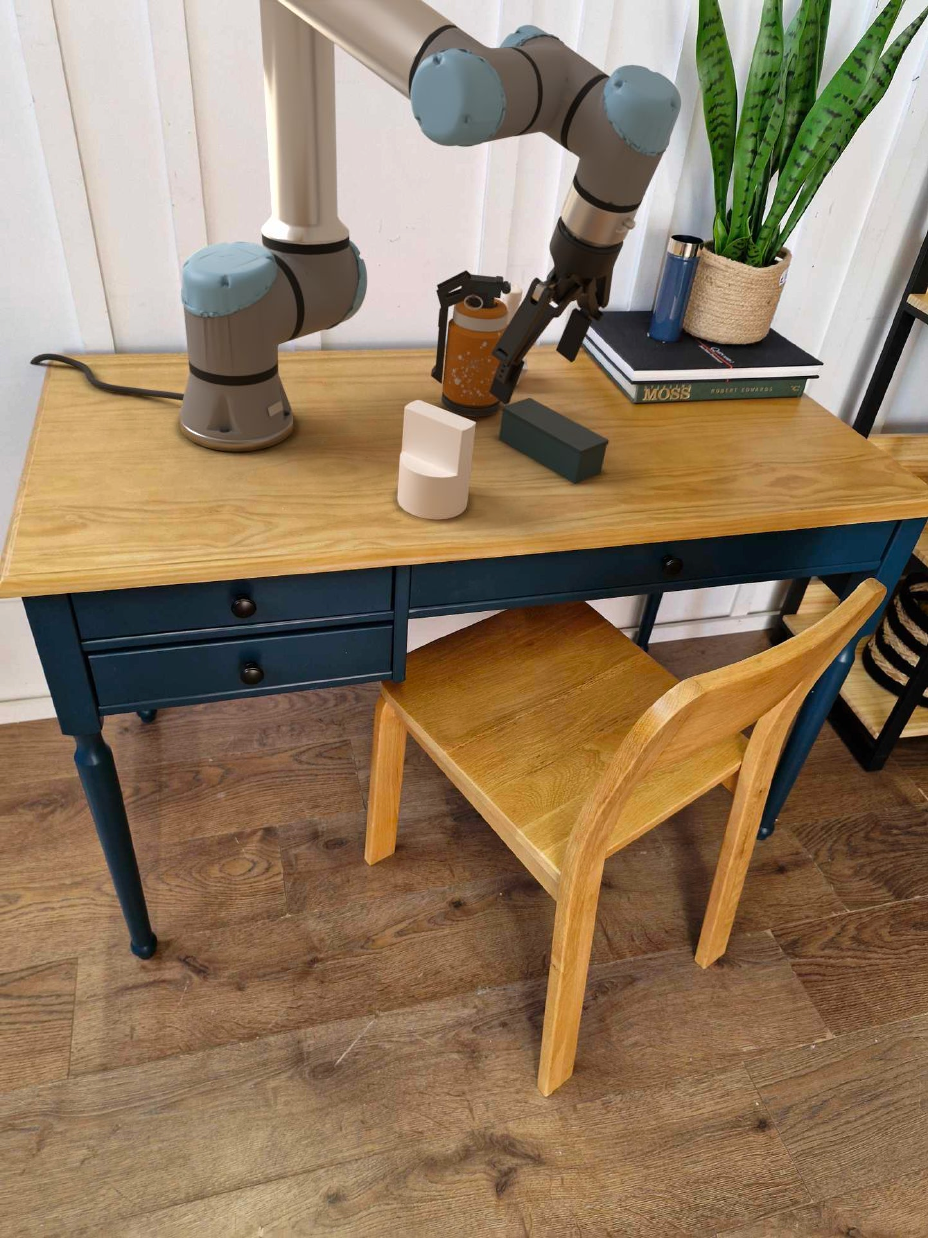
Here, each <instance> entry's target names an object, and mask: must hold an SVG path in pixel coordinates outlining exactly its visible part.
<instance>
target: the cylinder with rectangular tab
mask: <svg viewBox="0 0 928 1238" xmlns="http://www.w3.org/2000/svg"><path fill="white" fill-rule="evenodd" d="M403 409H404V411H403V424H402V425H403V426H402V439H401V440H402V441H401V451H400V454H399V467H398V482H397V503H398V505H399V507H400V508H401V509H403V511H404V512H406V513H408V514H410V515H412V516H415V517H418V518H421V519H426V520H439V521H440V520H448V519H452V518H455V517H457V516H459V515H461V514H462V513H464V511H465V510H466V508H467V506H468V500H469V493H470V485H471V484H470V482H471V477H472V476H471V475H472V468H473V460H472V459H473V451H474V442H475V433H476V426H477V422H476V421H474V420H471V419H468V418H466V417H464V416H462V415H460V414H457V413H455V412H452V411H450V410H449V411H448V410H446V409H444V408H441V407H438V406H436V405H434V404H431V403H428V402H425V401H423V400H420V399H416V400H413V401H411V402H409V403H408V404H406V405H405V406H404V408H403Z"/></svg>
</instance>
